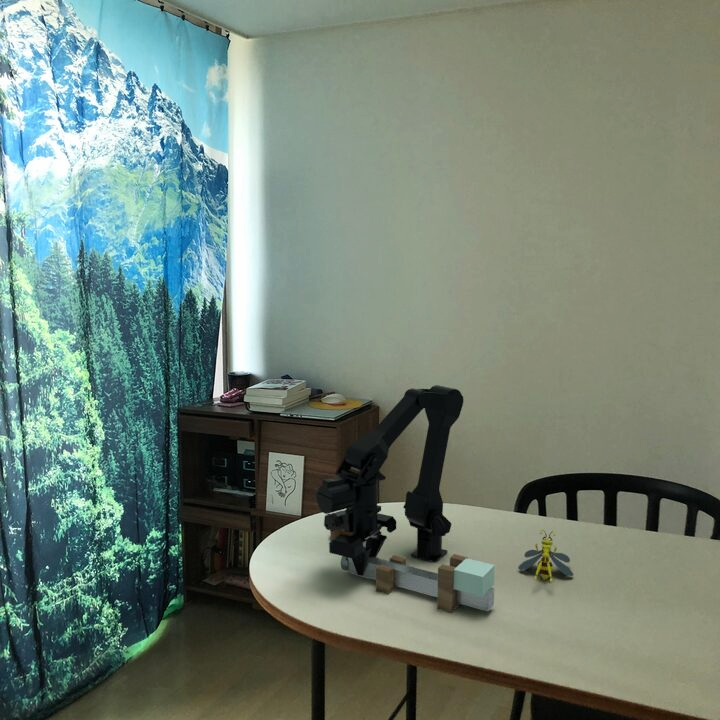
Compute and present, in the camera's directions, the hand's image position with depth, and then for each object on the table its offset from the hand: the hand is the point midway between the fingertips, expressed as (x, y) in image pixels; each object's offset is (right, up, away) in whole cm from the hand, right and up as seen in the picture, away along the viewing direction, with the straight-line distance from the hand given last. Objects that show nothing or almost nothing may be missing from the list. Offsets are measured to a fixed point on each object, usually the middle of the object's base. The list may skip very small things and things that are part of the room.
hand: (364, 572), depth 152 cm
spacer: (+21, +1, -14) cm, 25 cm away
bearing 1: (+6, -2, -3) cm, 7 cm away
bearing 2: (+18, -3, -11) cm, 21 cm away
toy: (+39, -2, 0) cm, 39 cm away
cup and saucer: (-2, +1, +22) cm, 22 cm away
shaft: (+10, -1, -6) cm, 12 cm away
